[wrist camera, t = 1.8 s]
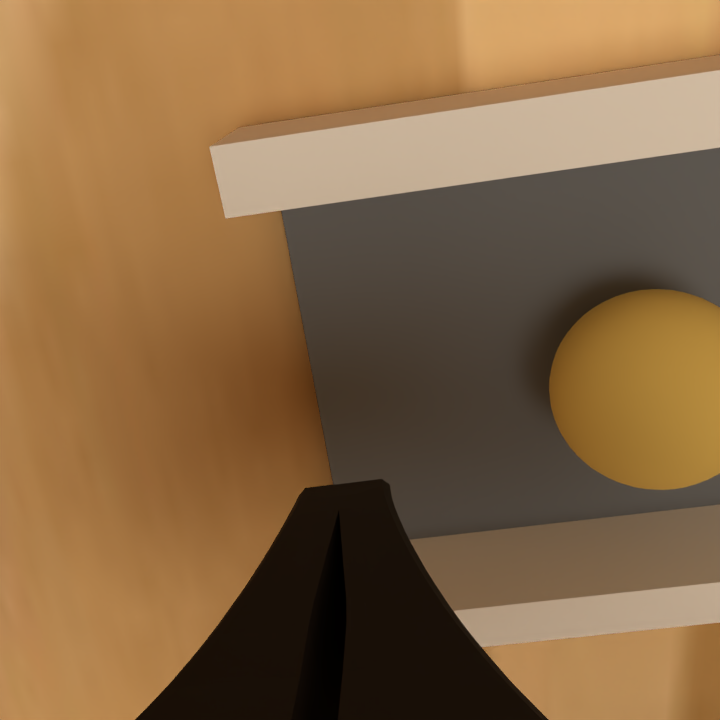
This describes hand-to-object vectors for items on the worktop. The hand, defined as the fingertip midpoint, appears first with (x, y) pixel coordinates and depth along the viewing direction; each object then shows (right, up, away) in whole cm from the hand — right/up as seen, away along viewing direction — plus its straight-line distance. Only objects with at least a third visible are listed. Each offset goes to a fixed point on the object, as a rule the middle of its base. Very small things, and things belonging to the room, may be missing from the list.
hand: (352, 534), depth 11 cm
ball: (+6, +3, +5) cm, 8 cm away
